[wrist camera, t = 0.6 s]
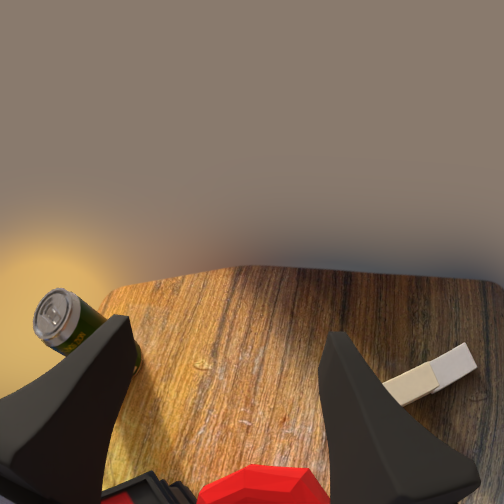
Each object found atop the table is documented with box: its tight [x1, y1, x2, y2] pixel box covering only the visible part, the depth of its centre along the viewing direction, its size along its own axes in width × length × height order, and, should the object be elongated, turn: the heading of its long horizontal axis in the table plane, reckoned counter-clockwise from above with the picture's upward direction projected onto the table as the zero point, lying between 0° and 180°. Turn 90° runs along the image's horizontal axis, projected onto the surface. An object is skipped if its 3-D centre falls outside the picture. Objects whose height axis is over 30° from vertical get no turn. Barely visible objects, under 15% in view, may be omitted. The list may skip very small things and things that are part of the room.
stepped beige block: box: [382, 343, 477, 407], centre depth 23 cm, size 11×3×3 cm, turn 105°
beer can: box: [33, 288, 143, 378], centre depth 28 cm, size 5×5×12 cm
